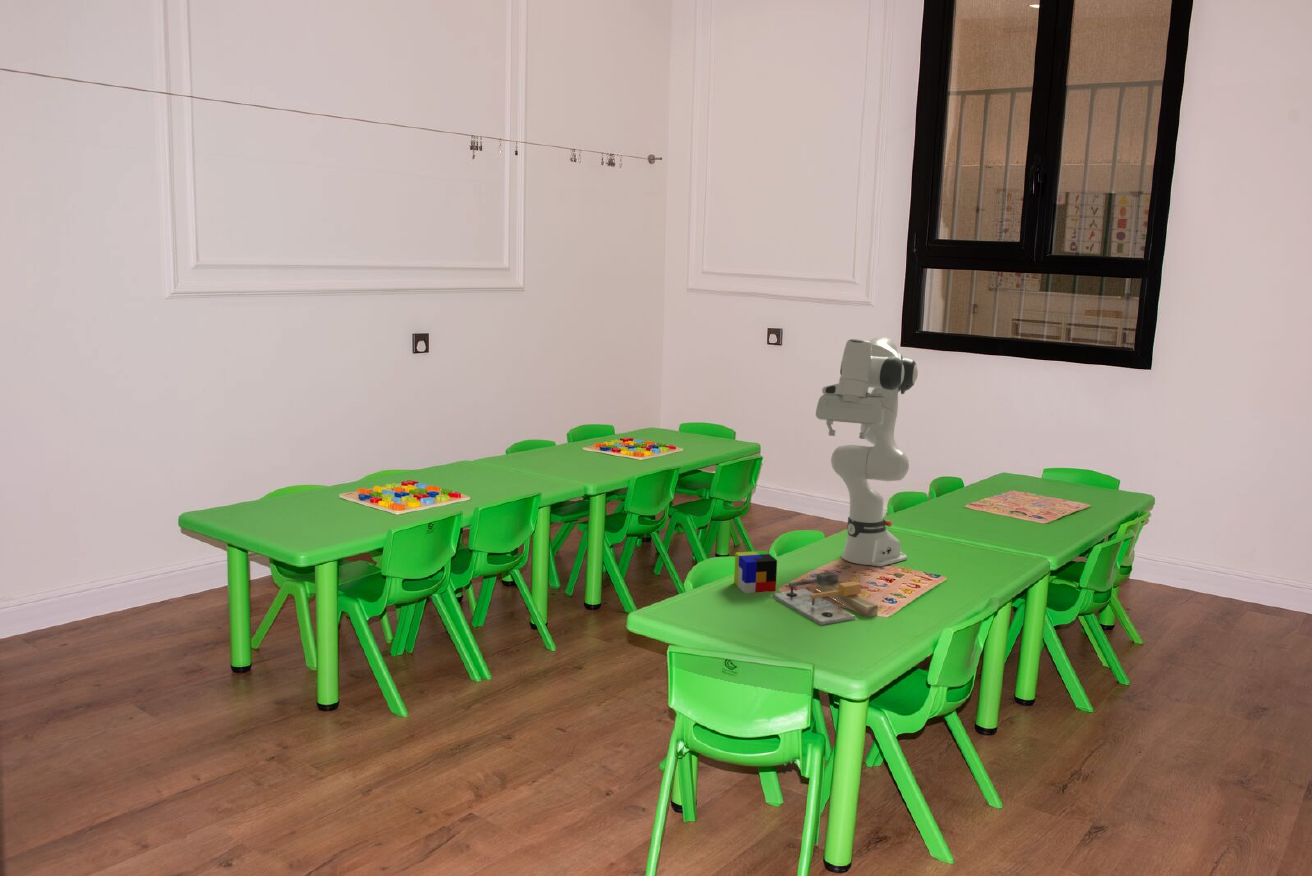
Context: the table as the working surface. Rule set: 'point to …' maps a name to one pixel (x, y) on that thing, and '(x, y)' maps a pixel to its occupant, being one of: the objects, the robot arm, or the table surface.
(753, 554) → the puzzle toy
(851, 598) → the dividers rail
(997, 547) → the table surface
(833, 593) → the sliding leg
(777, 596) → the bolt plate
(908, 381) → the robot arm
